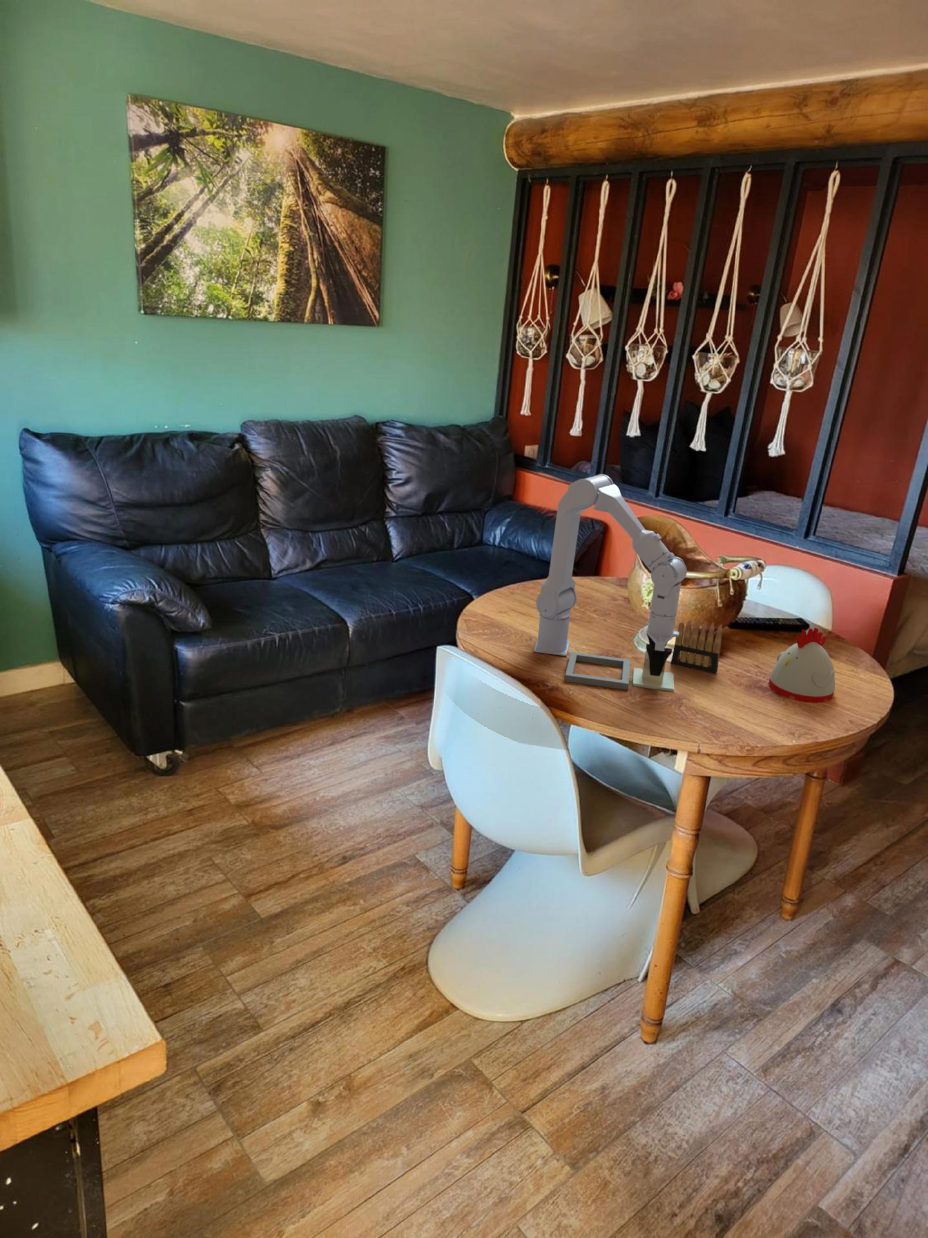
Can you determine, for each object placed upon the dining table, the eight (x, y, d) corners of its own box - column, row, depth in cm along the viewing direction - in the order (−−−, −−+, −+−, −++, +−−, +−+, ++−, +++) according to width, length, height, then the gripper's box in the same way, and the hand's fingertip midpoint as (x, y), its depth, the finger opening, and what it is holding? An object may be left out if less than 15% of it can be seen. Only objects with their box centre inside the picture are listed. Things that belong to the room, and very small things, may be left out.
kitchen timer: (755, 680, 193) (767, 619, 187) (802, 674, 197) (815, 615, 192) (797, 706, 180) (811, 642, 175) (846, 699, 185) (861, 637, 180)
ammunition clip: (670, 664, 198) (677, 617, 194) (672, 661, 200) (679, 615, 196) (716, 674, 194) (724, 626, 190) (717, 671, 196) (725, 623, 192)
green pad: (633, 670, 194) (633, 667, 194) (672, 675, 192) (673, 673, 192) (632, 685, 185) (632, 683, 185) (673, 691, 184) (674, 689, 184)
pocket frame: (570, 657, 199) (571, 651, 198) (629, 665, 196) (630, 659, 196) (564, 681, 186) (565, 675, 185) (627, 689, 183) (628, 683, 183)
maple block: (642, 672, 191) (645, 650, 189) (662, 675, 190) (665, 653, 188) (642, 680, 187) (645, 658, 185) (662, 683, 186) (665, 660, 184)
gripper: (682, 625, 176) (673, 683, 180) (680, 604, 189) (672, 658, 194) (649, 621, 177) (640, 679, 182) (649, 600, 190) (641, 654, 195)
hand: (654, 668), depth 188 cm, fingers open, 7 cm apart
